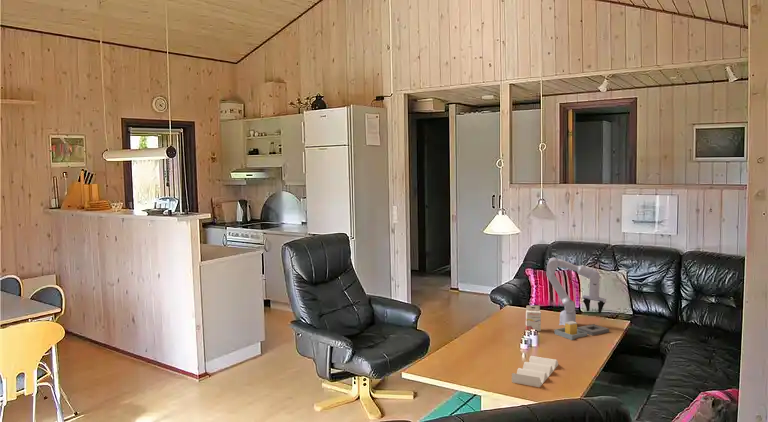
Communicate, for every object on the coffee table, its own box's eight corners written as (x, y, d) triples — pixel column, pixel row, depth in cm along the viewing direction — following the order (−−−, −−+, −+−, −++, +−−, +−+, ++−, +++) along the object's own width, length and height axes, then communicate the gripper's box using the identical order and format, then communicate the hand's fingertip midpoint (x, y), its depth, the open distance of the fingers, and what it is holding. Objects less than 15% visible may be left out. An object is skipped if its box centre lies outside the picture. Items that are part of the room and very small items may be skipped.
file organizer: (558, 365, 305) (558, 355, 305) (539, 388, 275) (539, 377, 275) (533, 361, 312) (533, 352, 311) (511, 383, 282) (511, 372, 281)
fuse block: (576, 331, 363) (576, 327, 363) (593, 328, 369) (593, 324, 369) (592, 336, 352) (592, 332, 352) (609, 333, 359) (609, 328, 358)
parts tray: (554, 334, 358) (554, 329, 358) (569, 331, 364) (569, 326, 364) (572, 340, 346) (572, 335, 346) (587, 337, 352) (587, 332, 351)
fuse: (564, 334, 356) (565, 322, 355) (571, 332, 358) (572, 320, 358) (569, 335, 352) (570, 323, 351) (577, 334, 354) (577, 322, 354)
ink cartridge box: (526, 331, 366) (526, 307, 364) (525, 328, 370) (525, 305, 369) (540, 331, 365) (541, 307, 363) (539, 329, 370) (539, 305, 368)
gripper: (580, 289, 371) (579, 311, 372) (602, 293, 361) (601, 315, 362) (585, 287, 376) (585, 309, 377) (607, 291, 365) (607, 313, 367)
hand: (593, 312), depth 370 cm, fingers open, 7 cm apart
